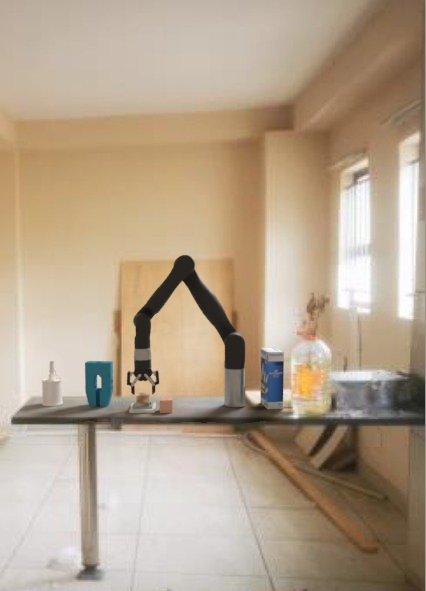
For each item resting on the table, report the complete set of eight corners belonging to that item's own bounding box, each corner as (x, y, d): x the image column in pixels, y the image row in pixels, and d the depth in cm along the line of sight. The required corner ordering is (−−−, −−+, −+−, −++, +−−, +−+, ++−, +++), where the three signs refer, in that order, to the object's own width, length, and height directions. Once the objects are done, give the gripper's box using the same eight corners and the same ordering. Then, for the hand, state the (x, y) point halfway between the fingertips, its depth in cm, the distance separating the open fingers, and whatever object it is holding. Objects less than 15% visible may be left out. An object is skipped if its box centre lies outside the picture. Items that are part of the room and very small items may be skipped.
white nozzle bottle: (42, 402, 245) (41, 360, 244) (62, 401, 248) (62, 359, 247) (41, 408, 235) (41, 364, 234) (63, 406, 238) (62, 362, 237)
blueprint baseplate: (156, 405, 240) (156, 400, 240) (154, 412, 227) (154, 408, 227) (132, 405, 239) (132, 401, 239) (129, 413, 226) (129, 408, 226)
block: (113, 404, 242) (113, 361, 241) (110, 406, 237) (110, 363, 236) (88, 403, 243) (88, 361, 242) (85, 406, 238) (84, 362, 237)
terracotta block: (172, 409, 232) (172, 397, 232) (172, 412, 227) (172, 400, 227) (160, 409, 232) (160, 397, 232) (159, 413, 227) (159, 400, 226)
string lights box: (260, 402, 244) (260, 347, 243) (275, 401, 246) (275, 347, 244) (267, 409, 231) (268, 352, 230) (284, 408, 233) (284, 351, 231)
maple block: (149, 404, 236) (149, 392, 236) (149, 407, 230) (148, 395, 230) (137, 404, 235) (137, 392, 235) (136, 408, 230) (136, 395, 230)
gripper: (159, 356, 236) (159, 391, 237) (127, 357, 235) (128, 392, 236) (158, 359, 228) (159, 395, 229) (125, 359, 228) (126, 396, 228)
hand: (143, 394), depth 232 cm, fingers open, 8 cm apart
